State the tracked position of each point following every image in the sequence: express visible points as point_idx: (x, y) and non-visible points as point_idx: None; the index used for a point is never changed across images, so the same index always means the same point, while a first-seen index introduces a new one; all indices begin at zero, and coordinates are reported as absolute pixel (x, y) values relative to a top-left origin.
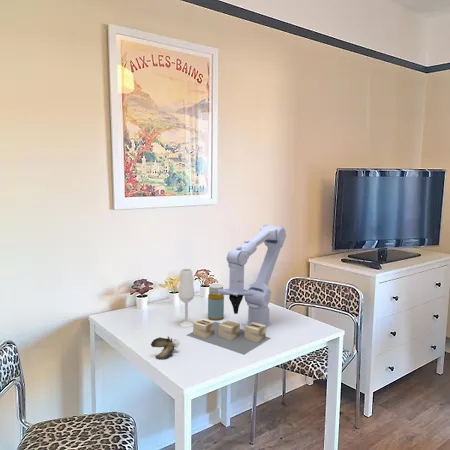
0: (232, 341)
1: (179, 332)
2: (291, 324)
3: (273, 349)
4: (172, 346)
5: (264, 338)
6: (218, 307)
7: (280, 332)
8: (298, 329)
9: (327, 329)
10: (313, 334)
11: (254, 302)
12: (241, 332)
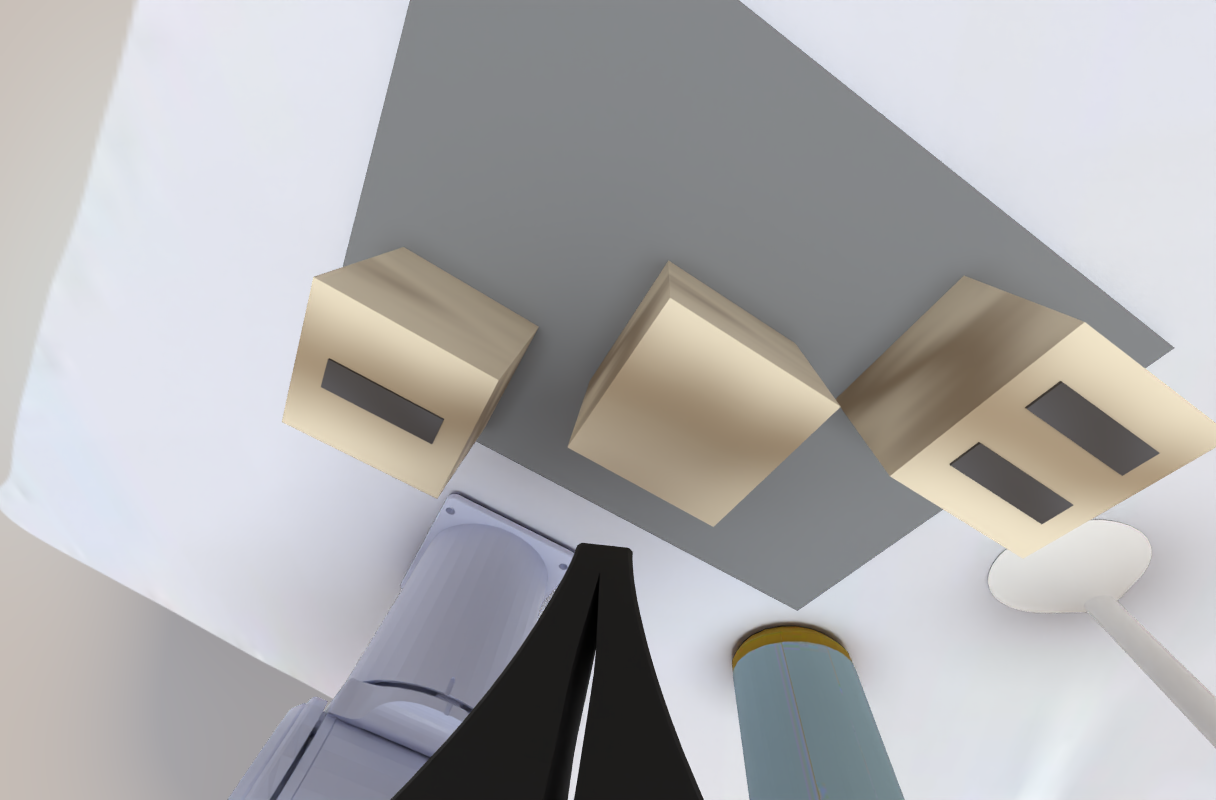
0: (649, 237)
1: None
2: (286, 582)
3: (221, 113)
4: None
5: None
6: (800, 746)
7: (304, 474)
8: (216, 521)
9: (65, 526)
10: (94, 457)
11: (398, 774)
12: None
